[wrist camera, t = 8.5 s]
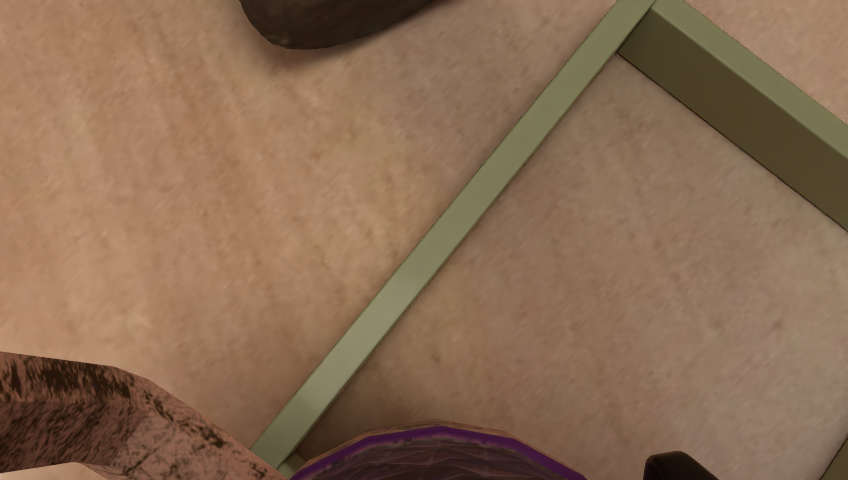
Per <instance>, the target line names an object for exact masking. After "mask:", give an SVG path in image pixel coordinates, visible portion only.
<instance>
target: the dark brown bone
mask: <svg viewBox="0 0 848 480" xmlns="http://www.w3.org/2000/svg"><path fill="white" fill-rule="evenodd" d="M239 1H240V2H241V5H242V7H243V10H244V12H245V14H246V16H247V17H248V19H249V21H250V22H251V24H252V25H253V26H254V27H255V28H256V29H257V30H258V31H259V32H260V34H261V35H262V36H263V37H264V38H266V39H267V40H268V41H269V42H271V43H272V44H275V45H279V46H281V47H285V48H287V49H317V48H326V47H332V46H335V45H338V44H342V43H344V42H347V41H349V40H351V39H355V38H360V37H364V36H367V35H369V34H371V33H373V32H376V31H379V30H382V29H385V28H386V27H387V26H389V25H390V24H392V23H395V22H397V21H400V20H402V19H404V18H406V17H408V16H411V15H412V14H414V13H415V12H417V11H419V10H420V9H421V8H423V7H425V6H427V5H429V4H430V3H432V2H433V1H434V0H239Z"/></svg>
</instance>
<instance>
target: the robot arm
mask: <svg viewBox="0 0 848 480" xmlns="http://www.w3.org/2000/svg"><path fill="white" fill-rule="evenodd" d="M643 480H719V479H717V478H716V477H715V476H714V475H713V474H711V473H710V472H709V471H708V470H706V469H705V468H704V467H703V466H702V465H700V464H699V463H698V462H697V461H695V460H694V459H693V458H692V457H691V456H689V455H688V454H686V453H684V452H681V451H673V452H667V453H661V454H655V455H651V456H650V457H649V458H648V459H647V460H646V463H645V469H644V476H643Z"/></svg>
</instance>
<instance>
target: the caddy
mask: <svg viewBox="0 0 848 480" xmlns="http://www.w3.org/2000/svg"><path fill="white" fill-rule="evenodd" d="M617 50H618V53H619V54H620V55H622V56H623V57H624V58H625V59H627V60H628V61H629V62H631V63H632V64H633V65H634V66H636V67H637V68H638V69H640V70H641V71H642V72H644V73H645V74H646V75H647V76H649V77H650V78H651V79H653V80H654V81H655V82H656V83H658V84H659V85H660V86H662V87H663V88H664V89H665V90H667V91H668V92H669V93H671V94H672V95H673V96H675V97H676V98H677V99H678V100H680V101H681V102H682V103H684V104H685V105H686V106H687V107H689V108H690V109H691V110H693V111H694V112H695V113H697V114H698V115H699V116H700V117H702V118H703V119H704V120H706V121H707V122H708V123H709V124H711V125H712V126H713V127H715V128H716V129H717V130H719V131H720V132H721V133H722V134H724V135H725V136H726V137H728V138H729V139H730V140H731V141H733V142H734V143H735V144H737V145H738V146H739V147H741V148H742V149H743V150H744V151H746V152H747V153H748V154H750V155H751V156H752V157H753V158H755V159H756V160H757V161H759V162H760V163H761V164H763V165H764V166H765V167H766V168H768V169H769V170H770V171H772V172H773V173H774V174H775V175H777V176H778V177H779V178H781V179H782V180H783V181H784V182H786V183H787V184H788V185H790V186H791V187H792V188H794V189H795V190H796V191H797V192H799V193H800V194H801V195H803V196H804V197H805V198H806V199H808V200H809V201H810V202H812V203H813V204H814V205H816V206H817V207H818V208H819V209H821V210H822V211H823V212H825V213H826V214H827V215H828V216H830V217H831V218H832V219H834V220H835V221H836V222H838V223H839V224H840V225H841V226H843V227H844V228H845V229H847V230H848V125H846V124H845V123H844V122H842V121H841V120H840V119H838V118H837V117H836V116H835V115H833V114H832V113H831V112H829V111H828V110H827V109H825V108H824V107H823V106H821V105H820V104H819V103H817V102H816V101H815V100H814V99H812V98H811V97H810V96H808V95H807V94H806V93H804V92H803V91H802V90H800V89H799V88H798V87H797V86H795V85H794V84H793V83H791V82H790V81H789V80H787V79H786V78H785V77H783V76H782V75H781V74H780V73H778V72H777V71H776V70H774V69H773V68H772V67H770V66H769V65H768V64H766V63H765V62H764V61H763V60H761V59H760V58H759V57H757V56H756V55H755V54H753V53H752V52H751V51H749V50H748V49H747V48H746V47H744V46H743V45H742V44H740V43H739V42H738V41H736V40H735V39H734V38H732V37H731V36H730V35H729V34H727V33H726V32H725V31H723V30H722V29H721V28H719V27H718V26H717V25H715V24H714V23H713V22H712V21H710V20H709V19H708V18H706V17H705V16H704V15H702V14H701V13H700V12H698V11H697V10H696V9H695V8H693V7H692V6H691V5H689V4H688V3H687V2H685V1H684V0H617V1H616V3H615V4H614V5H613V6H612V8H611V9H610V10H609V11H608V12H607V14H606V15H605V16H604V17H603V19H602V20H601V21H600V22H599V23H598V25H597V26H596V27H595V28H594V30H593V31H592V32H591V33H590V34H589V36H588V37H587V38H586V39H585V41H584V42H583V43H582V44H581V45H580V47H579V48H578V49H577V50H576V51H575V53H574V54H573V55H572V56H571V58H570V59H569V60H568V61H567V62H566V64H565V65H564V66H563V67H562V69H561V70H560V71H559V72H558V73H557V75H556V76H555V77H554V78H553V80H552V81H551V82H550V83H549V84H548V86H547V87H546V88H545V89H544V91H543V92H542V93H541V94H540V95H539V97H538V98H537V99H536V100H535V101H534V103H533V104H532V105H531V106H530V108H529V109H528V110H527V111H526V112H525V114H524V115H523V116H522V117H521V119H520V120H519V121H518V122H517V123H516V125H515V126H514V127H513V128H512V130H511V131H510V132H509V133H508V134H507V136H506V137H505V138H504V139H503V141H502V142H501V143H500V144H499V145H498V147H497V148H496V149H495V150H494V152H493V153H492V154H491V155H490V156H489V158H488V159H487V160H486V161H485V162H484V164H483V165H482V166H481V167H480V169H479V170H478V171H477V172H476V173H475V175H474V176H473V177H472V178H471V180H470V181H469V182H468V183H467V184H466V186H465V187H464V188H463V189H462V191H461V192H460V193H459V194H458V195H457V197H456V198H455V199H454V200H453V202H452V203H451V204H450V205H449V206H448V208H447V209H446V210H445V211H444V213H443V214H442V215H441V216H440V217H439V219H438V220H437V221H436V222H435V223H434V225H433V226H432V227H431V228H430V230H429V231H428V232H427V233H426V234H425V236H424V237H423V238H422V239H421V241H420V242H419V243H418V244H417V245H416V247H415V248H414V249H413V250H412V252H411V253H410V254H409V255H408V256H407V258H406V259H405V260H404V261H403V263H402V264H401V265H400V266H399V267H398V269H397V270H396V271H395V272H394V273H393V275H392V276H391V277H390V278H389V280H388V281H387V282H386V283H385V284H384V286H383V287H382V288H381V289H380V291H379V292H378V293H377V294H376V295H375V297H374V298H373V299H372V300H371V302H370V303H369V304H368V305H367V306H366V308H365V309H364V310H363V311H362V313H361V314H360V315H359V316H358V317H357V319H356V320H355V321H354V322H353V324H352V325H351V326H350V327H349V328H348V330H347V331H346V332H345V333H344V334H343V336H342V337H341V338H340V339H339V341H338V342H337V343H336V344H335V345H334V347H333V348H332V349H331V350H330V352H329V353H328V354H327V355H326V356H325V358H324V359H323V360H322V361H321V363H320V364H319V365H318V366H317V367H316V369H315V370H314V371H313V372H312V374H311V375H310V376H309V377H308V378H307V380H306V381H305V382H304V383H303V384H302V386H301V387H300V388H299V389H298V391H297V392H296V393H295V394H294V395H293V397H292V398H291V399H290V400H289V402H288V403H287V404H286V405H285V406H284V408H283V409H282V410H281V411H280V413H279V414H278V415H277V416H276V417H275V419H274V420H273V421H272V422H271V424H270V425H269V426H268V427H267V428H266V430H265V431H264V432H263V433H262V435H261V436H260V437H259V438H258V439H257V441H256V442H255V443H254V444H253V445H252V447H251V448H250V449H249V450H250V451H251V452H253V453H254V454H255V455H257V456H258V457H259V458H261V459H262V460H263V461H265V462H266V463H268V464H269V465H270V466H272V467H273V468H274V469H276V470H277V471H278V472H280V473H281V474H282V475H284V476H285V477H286V478H288V479H290V478H291V477H292V476H293V475H294V474H295V473H296V472H297V471H298V470H299V469H300V468H301V467H302V466H303V465H304V464H305V463H306V461H305V460H304V459H302V458H301V457H300V456H299V455H298V454H296V453H293V452H294V451H295V450H296V448H297V447H298V446H299V445H300V443H301V442H302V441H303V440H304V438H305V437H306V436H307V435H308V433H309V432H310V431H311V430H312V429H313V427H314V426H315V425H316V424H317V422H318V421H319V420H320V419H321V417H322V416H323V415H324V414H325V412H326V411H327V410H328V409H329V407H330V406H331V405H332V404H333V403H334V401H335V400H336V399H337V398H338V396H339V395H340V394H341V393H342V391H343V390H344V389H345V388H346V386H347V385H348V384H349V383H350V381H351V380H352V379H353V378H354V376H355V375H356V374H357V373H358V372H359V370H360V369H361V368H362V367H363V365H364V364H365V363H366V362H367V360H368V359H369V358H370V357H371V355H372V354H373V353H374V352H375V350H376V349H377V348H378V347H379V345H380V344H381V343H382V342H383V341H384V339H385V338H386V337H387V336H388V334H389V333H390V332H391V331H392V329H393V328H394V327H395V326H396V324H397V323H398V322H399V321H400V319H401V318H402V317H403V316H404V315H405V313H406V312H407V311H408V310H409V308H410V307H411V306H412V305H413V303H414V302H415V301H416V300H417V298H418V297H419V296H420V295H421V293H422V292H423V291H424V290H425V288H426V287H427V286H428V285H429V284H430V282H431V281H432V280H433V279H434V277H435V276H436V275H437V274H438V272H439V271H440V270H441V269H442V267H443V266H444V265H445V264H446V262H447V261H448V260H449V259H450V257H451V256H452V255H453V254H454V253H455V251H456V250H457V249H458V248H459V246H460V245H461V244H462V243H463V241H464V240H465V239H466V238H467V236H468V235H469V234H470V233H471V231H472V230H473V229H474V228H475V227H476V225H477V224H478V223H479V222H480V220H481V219H482V218H483V217H484V215H485V214H486V213H487V212H488V210H489V209H490V208H491V207H492V205H493V204H494V203H495V202H496V200H497V199H498V198H499V197H500V196H501V194H502V193H503V192H504V191H505V189H506V188H507V187H508V186H509V184H510V183H511V182H512V181H513V179H514V178H515V177H516V176H517V174H518V173H519V172H520V171H521V169H522V168H523V167H524V166H525V165H526V163H527V162H528V161H529V160H530V158H531V157H532V156H533V155H534V153H535V152H536V151H537V150H538V148H539V147H540V146H541V145H542V143H543V142H544V141H545V140H546V138H547V137H548V136H549V135H550V134H551V132H552V131H553V130H554V129H555V127H556V126H557V125H558V124H559V122H560V121H561V120H562V119H563V117H564V116H565V115H566V114H567V112H568V111H569V110H570V109H571V108H572V106H573V105H574V104H575V103H576V101H577V100H578V99H579V98H580V96H581V95H582V94H583V93H584V91H585V90H586V89H587V88H588V86H589V85H590V84H591V83H592V81H593V80H594V79H595V78H596V77H597V75H598V74H599V73H600V72H601V70H602V69H603V68H604V67H605V65H606V64H607V63H608V62H609V60H610V59H611V58H612V57H613V55H614V54H615V53H616V52H617ZM292 453H293V454H292ZM821 480H848V440H847V441H846V443H845V444H844V446H843V447H842V449H841V450H840V452H839V453H838V455H837V457H836V458H835V460H834V461H833V463H832V464H831V466H830V467H829V469H828V470H827V472H826V473H825V475H824V476H823V478H822V479H821Z"/></svg>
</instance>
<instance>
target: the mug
mask: <svg viewBox="0 0 848 480" xmlns="http://www.w3.org/2000/svg"><path fill="white" fill-rule="evenodd" d="M69 462H78V463H81V464H83V465H85V466H86V467H88V468H90V469H91V470H93V471H95V472H97V473H98V474H100V475H102V476H104V477H105V478H107V479H109V480H587V479H586V478H585V477H584V476H583V475H581V474H580V473H578V472H577V471H575V470H573V469H572V468H570V467H569V466H567V465H565V464H564V463H562V462H560V461H558V460H556V459H554V458H552V457H551V456H549V455H547V454H545V453H543V452H541V451H539V450H538V449H536V448H534V447H532V446H530V445H528V444H527V443H525V442H523V441H521V440H519V439H517V438H515V437H514V436H512V435H510V434H508V433H506V432H504V431H499V430H493V429H488V428H482V427H477V426H471V425H465V424H460V423H454V422H449V421H443V420H431V421H424V422H417V423H410V424H403V425H397V426H390V427H383V428H376V429H370V430H368V431H366V432H364V433H362V434H360V435H358V436H356V437H354V438H352V439H350V440H348V441H346V442H344V443H342V444H340V445H338V446H336V447H334V448H332V449H330V450H328V451H326V452H324V453H322V454H320V455H318V456H316V457H314V458H312V459H310V460H308V461H307V462H306V463H305V464H304V465H303V466H302V467H301V468H300V469H299V470H298V471H297V472H296V473H295V474H294V475H293V476H292V477H291V478H290V479H288V478H286V477H285V476H284V475H282V474H281V473H280V472H278V471H277V470H276V469H274V468H273V467H272V466H270V465H269V464H268V463H266V462H265V461H263V460H262V459H261V458H259V457H258V456H257V455H255V454H254V453H253V452H251V451H250V450H249V449H247V448H246V447H245V446H243V445H242V444H240V443H239V442H238V441H236V440H235V439H234V438H232V437H231V436H230V435H228V434H227V433H226V432H224V431H223V430H222V429H220V428H219V427H217V426H216V425H215V424H213V423H212V422H211V421H209V420H208V419H207V418H205V417H204V416H203V415H201V414H200V413H199V412H197V411H196V410H194V409H193V408H191V407H190V406H188V405H186V404H185V403H183V402H182V401H180V400H179V399H177V398H176V397H174V396H173V395H171V394H170V393H168V392H167V391H165V390H164V389H162V388H160V387H159V386H157V385H156V384H154V383H153V382H151V381H150V380H148V379H145V378H143V377H140V376H137V375H135V374H132V373H129V372H127V371H124V370H121V369H119V368H116V367H113V366H105V365H98V364H90V363H83V362H75V361H67V360H60V359H52V358H45V357H37V356H30V355H22V354H15V353H7V352H0V473H5V472H11V471H18V470H24V469H31V468H37V467H44V466H50V465H56V464H63V463H69Z"/></svg>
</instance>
